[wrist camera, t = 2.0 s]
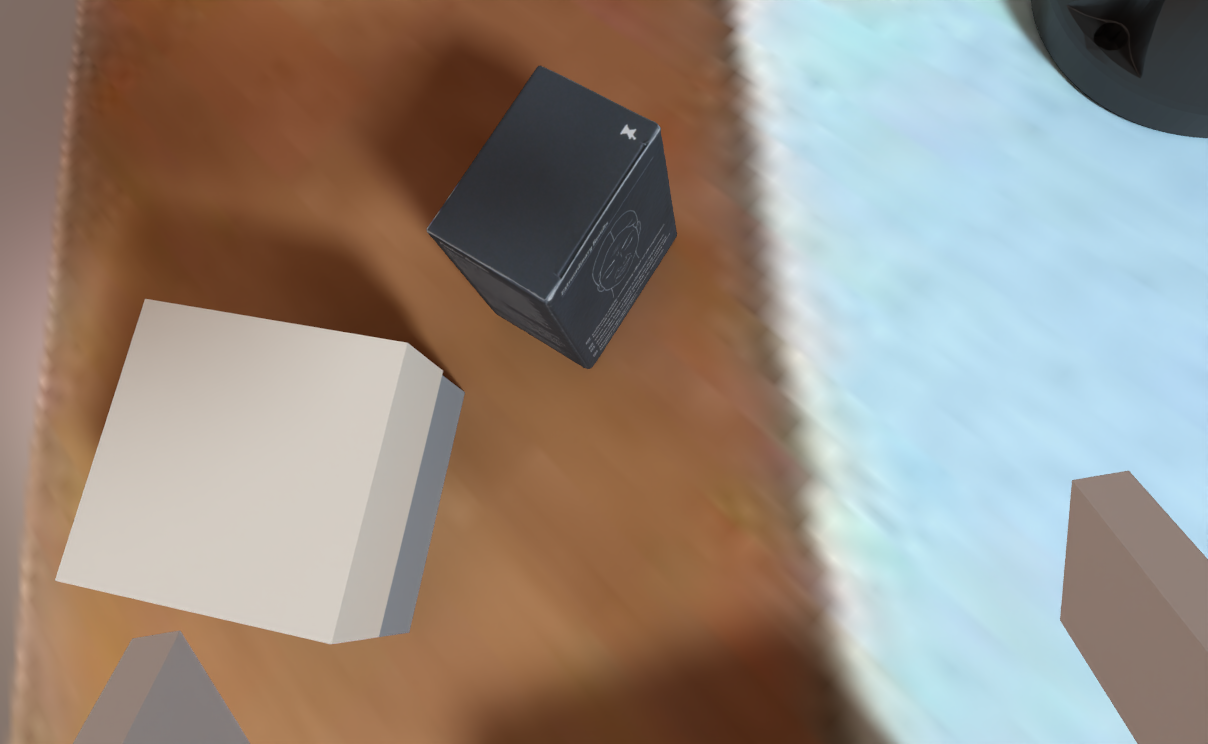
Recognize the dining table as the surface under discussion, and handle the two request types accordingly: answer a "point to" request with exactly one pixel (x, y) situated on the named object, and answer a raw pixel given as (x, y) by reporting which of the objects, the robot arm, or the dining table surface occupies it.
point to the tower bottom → (423, 511)
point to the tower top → (255, 472)
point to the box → (562, 215)
